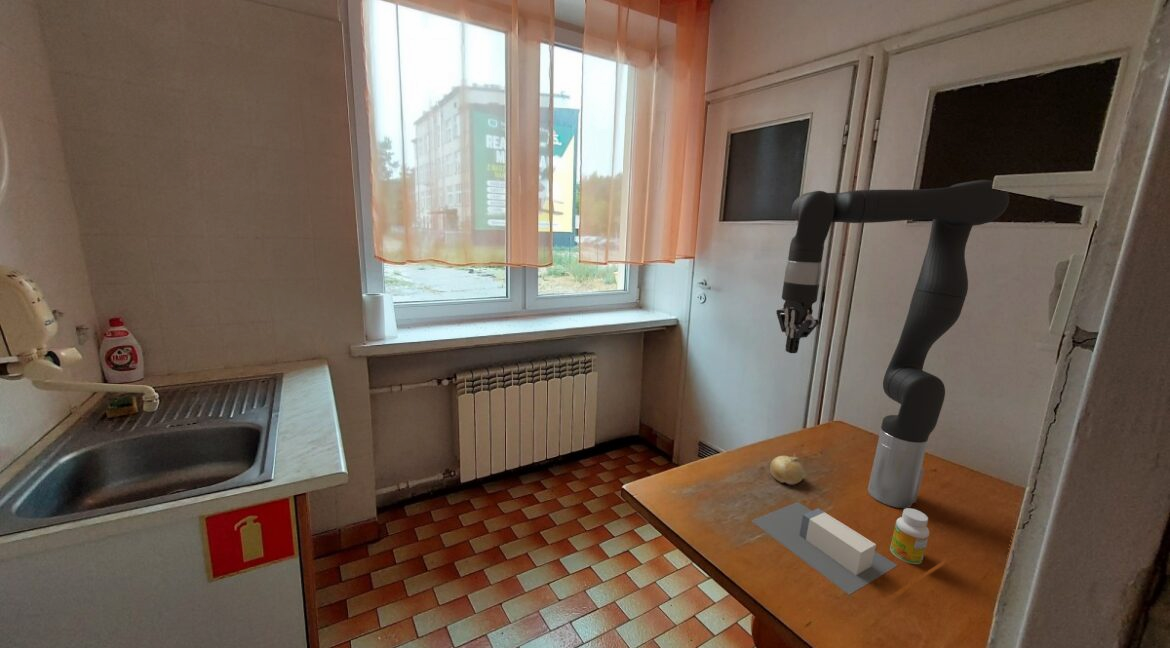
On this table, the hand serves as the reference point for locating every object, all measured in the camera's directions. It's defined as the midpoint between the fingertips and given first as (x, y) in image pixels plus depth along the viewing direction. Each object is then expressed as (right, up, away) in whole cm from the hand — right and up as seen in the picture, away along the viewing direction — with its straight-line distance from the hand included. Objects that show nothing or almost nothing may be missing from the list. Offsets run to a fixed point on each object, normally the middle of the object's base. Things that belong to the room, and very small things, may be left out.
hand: (791, 352), depth 106 cm
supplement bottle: (+15, -41, -17) cm, 47 cm away
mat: (-1, -39, -14) cm, 42 cm away
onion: (+2, -34, +9) cm, 35 cm away
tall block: (-2, -35, -12) cm, 38 cm away
